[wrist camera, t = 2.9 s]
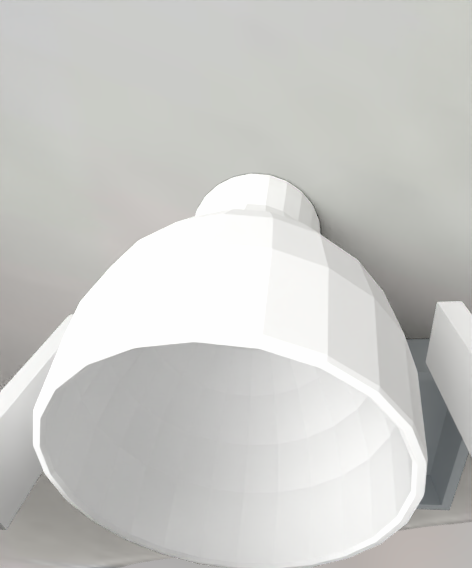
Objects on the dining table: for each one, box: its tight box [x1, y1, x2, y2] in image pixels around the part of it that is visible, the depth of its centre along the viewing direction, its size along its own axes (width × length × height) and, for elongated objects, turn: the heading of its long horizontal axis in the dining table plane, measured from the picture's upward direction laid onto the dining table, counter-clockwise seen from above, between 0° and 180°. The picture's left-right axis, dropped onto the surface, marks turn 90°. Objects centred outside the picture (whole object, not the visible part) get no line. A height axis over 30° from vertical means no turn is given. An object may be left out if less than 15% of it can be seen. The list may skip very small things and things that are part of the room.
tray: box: [406, 339, 469, 510], centre depth 27 cm, size 15×15×3 cm
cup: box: [33, 174, 428, 568], centre depth 15 cm, size 11×11×15 cm
